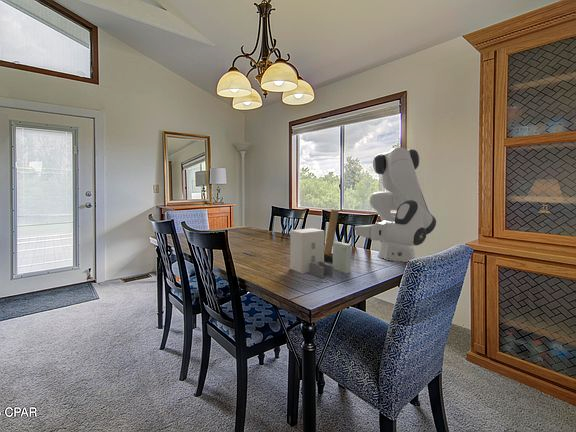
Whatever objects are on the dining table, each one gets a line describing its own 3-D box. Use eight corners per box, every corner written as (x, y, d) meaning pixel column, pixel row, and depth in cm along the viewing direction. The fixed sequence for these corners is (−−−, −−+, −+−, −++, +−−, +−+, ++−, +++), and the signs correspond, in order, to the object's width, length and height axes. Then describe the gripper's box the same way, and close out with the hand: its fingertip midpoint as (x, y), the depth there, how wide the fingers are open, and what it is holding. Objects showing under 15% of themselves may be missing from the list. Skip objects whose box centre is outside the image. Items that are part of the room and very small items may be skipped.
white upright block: (350, 272, 154) (351, 244, 152) (344, 273, 152) (345, 245, 150) (336, 267, 162) (337, 241, 161) (331, 268, 160) (331, 242, 159)
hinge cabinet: (339, 274, 150) (339, 233, 148) (316, 279, 142) (316, 236, 140) (312, 264, 168) (312, 228, 166) (290, 268, 160) (290, 230, 158)
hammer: (343, 266, 173) (353, 214, 166) (338, 268, 169) (348, 215, 162) (316, 254, 186) (324, 205, 179) (311, 255, 183) (318, 206, 176)
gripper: (403, 222, 136) (378, 219, 148) (371, 225, 126) (347, 221, 137) (403, 236, 137) (378, 232, 149) (370, 240, 126) (346, 236, 138)
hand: (363, 227), depth 143 cm, fingers open, 8 cm apart
